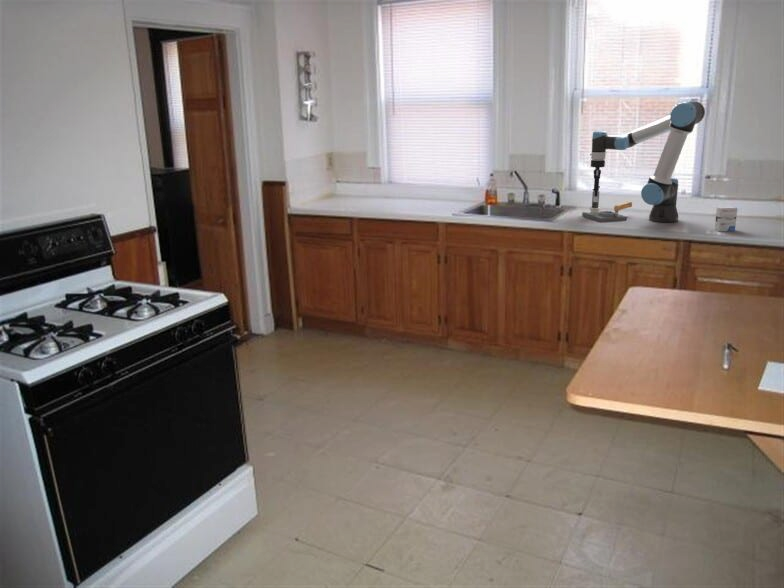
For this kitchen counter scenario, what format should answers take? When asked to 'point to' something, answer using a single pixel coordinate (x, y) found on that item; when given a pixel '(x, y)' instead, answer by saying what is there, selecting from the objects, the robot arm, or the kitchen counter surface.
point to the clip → (622, 206)
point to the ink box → (725, 218)
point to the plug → (595, 206)
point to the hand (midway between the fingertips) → (595, 200)
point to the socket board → (605, 216)
